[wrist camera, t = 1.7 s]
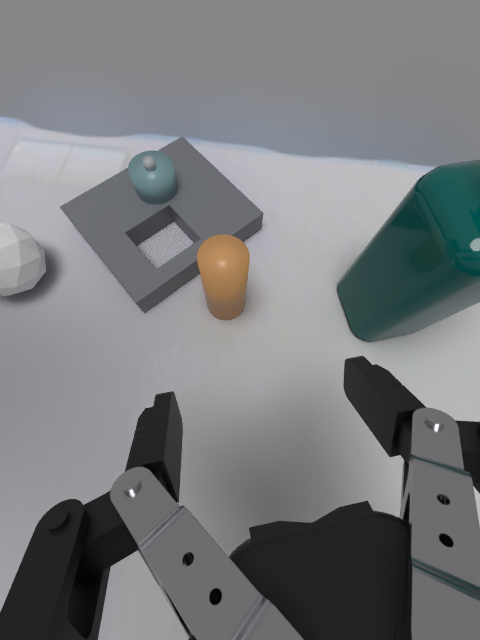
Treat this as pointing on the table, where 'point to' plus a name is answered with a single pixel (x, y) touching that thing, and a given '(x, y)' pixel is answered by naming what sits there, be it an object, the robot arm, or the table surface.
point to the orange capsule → (224, 275)
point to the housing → (160, 217)
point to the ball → (19, 260)
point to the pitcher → (419, 258)
